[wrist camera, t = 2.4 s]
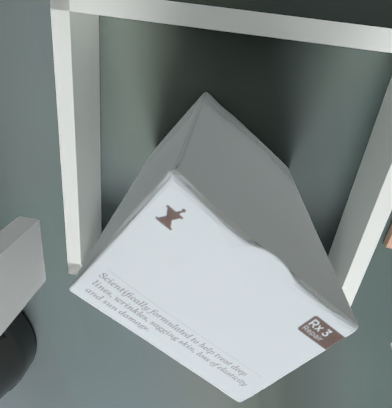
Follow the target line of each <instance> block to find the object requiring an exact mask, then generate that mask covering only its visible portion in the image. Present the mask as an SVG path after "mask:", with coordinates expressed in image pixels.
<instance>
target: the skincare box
mask: <svg viewBox="0 0 392 408" xmlns="http://www.w3.org/2000/svg"><path fill="white" fill-rule="evenodd" d="M70 291H71V292H73V293H74V294H76V295H77V296H79V297H80V298H82V299H83V300H85V301H86V302H88V303H89V304H91V305H92V306H94V307H95V308H97V309H98V310H100V311H101V312H103V313H105V314H106V315H108V316H109V317H111V318H112V319H114V320H115V321H117V322H119V323H120V324H122V325H123V326H125V327H126V328H128V329H129V330H131V331H132V332H134V333H135V334H137V335H138V336H140V337H141V338H143V339H144V340H146V341H148V342H149V343H151V344H152V345H154V346H155V347H157V348H158V349H160V350H161V351H163V352H164V353H166V354H167V355H169V356H170V357H172V358H173V359H175V360H176V361H178V362H179V363H181V364H182V365H184V366H185V367H187V368H188V369H190V370H191V371H193V372H194V373H196V374H197V375H199V376H200V377H202V378H203V379H205V380H206V381H208V382H209V383H211V384H212V385H214V386H215V387H217V388H218V389H220V390H221V391H223V392H224V393H225V394H227V395H228V396H230V397H231V398H233V399H234V400H236V401H237V402H242V401H244V400H245V399H247V398H249V397H251V396H253V395H254V394H256V393H258V392H259V391H261V390H262V389H264V388H266V387H267V386H269V385H271V384H272V383H274V382H275V381H277V380H278V379H280V378H282V377H283V376H285V375H286V374H288V373H290V372H291V371H293V370H295V369H296V368H298V367H299V366H301V365H302V364H304V363H306V362H307V361H309V360H310V359H312V358H314V357H315V356H317V355H319V354H320V353H322V352H323V351H325V350H326V349H328V348H329V347H331V346H332V345H334V344H335V343H337V342H339V341H340V340H342V339H343V338H345V337H347V336H348V335H350V334H352V333H354V332H355V331H356V330H357V329H358V327H359V325H358V323H357V321H356V319H355V317H354V314H353V312H352V310H351V308H350V305H349V303H348V301H347V299H346V296H345V294H344V292H343V290H342V287H341V285H340V283H339V280H338V278H337V276H336V274H335V272H334V270H333V267H332V265H331V263H330V261H329V259H328V256H327V254H326V252H325V250H324V247H323V245H322V243H321V241H320V239H319V236H318V234H317V232H316V230H315V227H314V225H313V223H312V221H311V218H310V216H309V214H308V212H307V209H306V207H305V205H304V203H303V201H302V198H301V196H300V194H299V192H298V189H297V187H296V185H295V183H294V180H293V178H292V176H291V173H290V171H289V169H288V167H287V166H286V165H285V164H284V163H283V162H282V161H281V160H280V159H279V158H278V157H277V156H276V155H275V154H274V153H273V152H272V151H271V150H269V149H268V148H267V147H266V146H265V145H264V144H263V143H262V142H261V141H260V140H259V139H258V138H257V137H256V136H255V135H254V134H252V133H251V132H250V131H249V130H248V129H247V128H246V127H245V126H244V125H243V124H242V123H241V122H240V121H239V120H237V119H236V118H235V117H234V116H233V115H232V114H231V113H229V112H228V111H227V110H225V109H224V108H223V107H222V106H221V105H220V104H219V103H218V102H217V101H216V100H215V99H214V98H213V97H212V96H211V95H210V94H209V93H208V92H205V93H203V94H202V95H201V96H200V97H199V99H198V100H197V101H196V102H195V103H194V104H193V105H192V107H191V108H190V109H189V110H188V111H187V112H186V113H185V115H184V116H183V117H182V118H181V119H180V120H179V121H178V123H177V124H176V125H175V126H174V127H173V128H172V129H171V131H170V132H169V133H168V134H167V135H166V136H165V138H164V139H163V140H162V141H161V142H160V143H159V145H158V146H157V147H156V148H155V149H154V151H153V152H152V153H151V155H150V156H149V158H148V159H147V161H146V163H145V164H144V166H143V167H142V169H141V171H140V172H139V174H138V176H137V177H136V179H135V181H134V182H133V184H132V186H131V187H130V189H129V190H128V192H127V194H126V195H125V197H124V198H123V200H122V202H121V203H120V205H119V206H118V208H117V210H116V211H115V213H114V214H113V216H112V218H111V219H110V221H109V223H108V224H107V226H106V227H105V229H104V230H103V232H102V234H101V235H100V237H99V239H98V240H97V242H96V244H95V245H94V247H93V249H92V250H91V252H90V253H89V255H88V257H87V258H86V260H85V262H84V264H83V265H82V267H81V269H80V270H79V272H78V274H77V276H76V277H75V279H74V281H73V283H72V284H71V286H70Z"/></svg>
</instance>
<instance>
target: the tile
mask: <svg viewBox="0 0 392 408" xmlns="http://www.w3.org/2000/svg"><path fill="white" fill-rule="evenodd" d="M383 244H384V245H385V247H386V248H392V223H391V226H390V228H389V230H388V233H387V235H386V237H385V240H384V242H383Z"/></svg>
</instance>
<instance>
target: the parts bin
mask: <svg viewBox="0 0 392 408" xmlns="http://www.w3.org/2000/svg"><path fill="white" fill-rule="evenodd" d="M50 9H51V24H52V38H53V53H54V68H55V83H56V97H57V112H58V127H59V142H60V156H61V171H62V186H63V201H64V216H65V230H66V245H67V260H68V273H69V274H74V275H77V274H78V272H79V270H80V269H81V267H82V265H83V264H84V262H85V260H86V258H87V257H88V255H89V253H90V252H91V250H92V249H93V247H94V245H95V244H96V242H97V240H98V239H99V237H100V235H101V234H102V231H101V147H100V63H99V15H101V16H109V17H117V18H125V19H132V20H140V21H148V22H155V23H163V24H171V25H179V26H186V27H194V28H202V29H210V30H217V31H225V32H233V33H241V34H248V35H256V36H264V37H272V38H279V39H287V40H295V41H302V42H310V43H318V44H326V45H333V46H341V47H349V48H357V49H364V50H372V51H380V52H388V53H392V29H391V28H383V27H375V26H367V25H359V24H351V23H343V22H335V21H327V20H319V19H311V18H303V17H295V16H287V15H279V14H271V13H263V12H255V11H247V10H239V9H231V8H223V7H215V6H207V5H199V4H191V3H183V2H175V1H167V0H50ZM391 210H392V76H391V79H390V82H389V85H388V87H387V90H386V93H385V96H384V99H383V102H382V104H381V107H380V110H379V113H378V116H377V119H376V121H375V124H374V127H373V130H372V133H371V136H370V138H369V141H368V144H367V147H366V150H365V153H364V155H363V158H362V161H361V164H360V167H359V170H358V172H357V175H356V178H355V181H354V184H353V186H352V189H351V192H350V195H349V198H348V201H347V203H346V206H345V209H344V212H343V215H342V218H341V220H340V223H339V226H338V229H337V232H336V235H335V237H334V240H333V243H332V246H331V249H330V252H329V254H328V259H329V261H330V263H331V265H332V267H333V270H334V272H335V274H336V276H337V278H338V280H339V283H340V285H341V287H342V290H343V292H344V294H345V296H346V299H347V301H348V303H349V305H350V307H351V304H352V302H353V300H354V297H355V295H356V293H357V290H358V288H359V286H360V283H361V281H362V278H363V276H364V274H365V271H366V269H367V267H368V264H369V262H370V260H371V257H372V255H373V253H374V250H375V248H376V246H377V243H378V241H379V238H380V236H381V234H382V231H383V229H384V227H385V224H386V222H387V220H388V217H389V215H390V213H391Z"/></svg>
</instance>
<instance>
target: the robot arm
mask: <svg viewBox="0 0 392 408" xmlns="http://www.w3.org/2000/svg"><path fill="white" fill-rule="evenodd" d="M45 281H46V275H45V266H44V257H43V248H42V239H41V230H40V221H39V220H38V219H32V218H27V217H21V216H18V217H17V218H16V219H15V220H13V221H12V222H11V223H10V224H8V225H7V226H6V227H5V228H3V229H2V230H1V231H0V398H2V397H3V396H4V395H5V394H6V393H7V392H8V391H10V390H11V389H12V388H13V387H15V386H16V385H17V383H18V382H19V381H20V380H21V379H22V377H23V376H24V374H25V372H26V371H27V369H28V368H29V366H30V365H31V363H32V361H33V360H34V357H35V353H36V341H35V336H34V333H33V330H32V328H31V326H30V324H29V322H28V321H27V319H26V318H25V316H24V315H23V314H22V312H21V310H22V309H23V308H24V307H25V306H26V304H27V303H28V302H29V301H30V299H31V298H32V297H33V296H34V295H35V293H36V292H37V291H38V290H39V288H40V287H41V286H42V285H43V284H44V282H45ZM390 346H391V349H392V342H391V344H390Z"/></svg>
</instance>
